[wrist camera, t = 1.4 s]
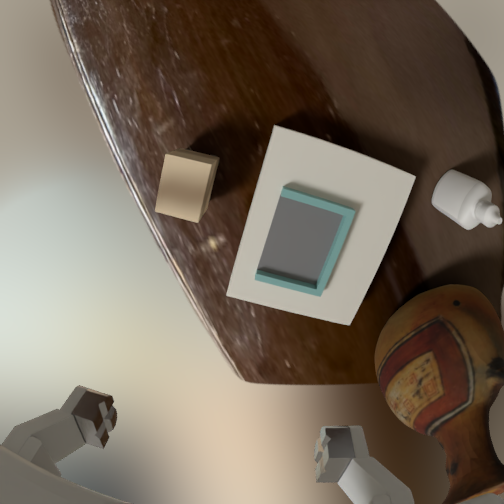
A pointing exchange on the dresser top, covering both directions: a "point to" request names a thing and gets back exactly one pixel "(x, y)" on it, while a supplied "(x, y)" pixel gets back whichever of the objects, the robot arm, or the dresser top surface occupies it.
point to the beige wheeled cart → (186, 184)
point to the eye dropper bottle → (465, 200)
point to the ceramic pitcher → (447, 380)
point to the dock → (317, 227)
